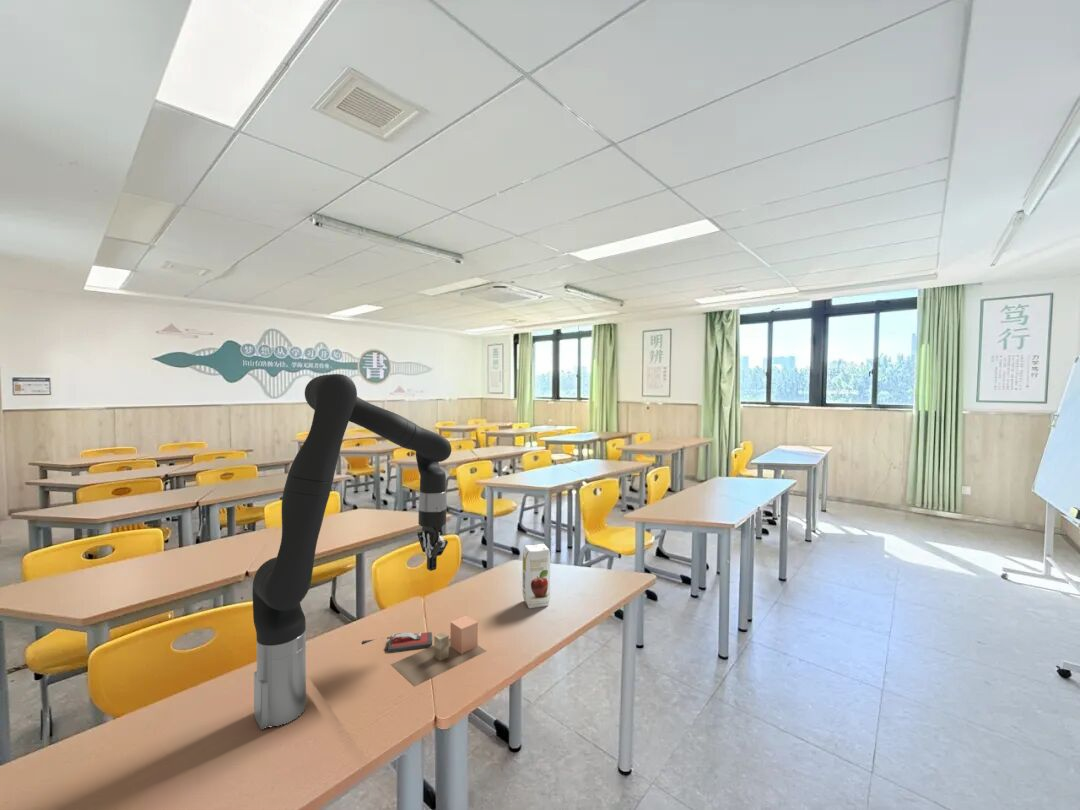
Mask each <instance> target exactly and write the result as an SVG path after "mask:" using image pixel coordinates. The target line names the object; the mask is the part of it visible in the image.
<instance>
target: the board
mask: <svg viewBox="0 0 1080 810" xmlns="http://www.w3.org/2000/svg"><path fill="white" fill-rule="evenodd" d="M433 640H434V644H433V645H432V646H431V647H428V648H427V647H426V648H424V649H423V650H421V651H418V652H416V653H414V654H411V655H409V656H406V657H403V658H402V659H400V660H398V661H395V662H392V663H390V665H391V666H392V667H393V669H395V670H396V671H397V672H398V673H399V675H402V677H403V678H405V679H406V680H407V681H408V682H409V683H410V684H411V685H412V686H413V687H417V686H419V685H421V684H423V683H425V682H427V681H429V680H431V679H433V678H435V677H437V676H439V675H441V674H443V673H445V672H447V671H449V670H451V669H453V668H455V667H457V666H459V665H462V664H463V663H466V662H467V661H469V660H471V659H474V658H475V657H477V656H479V655H481V654H483V653H485V652H487V650H486V649H484V648H483V647H481V646H479V645H478V646H477V647H475V648H473V649H471V650H469V651H467V652H465V653H463V654H461V653H459V652H458V651H456V650H455V649H454V648H452V647H451V646H450V637H449V635H448V634H447V633H445V632H443V631H442V632H440V633H438V634H434V639H433Z"/></svg>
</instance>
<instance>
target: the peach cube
mask: <svg viewBox="0 0 1080 810" xmlns="http://www.w3.org/2000/svg"><path fill="white" fill-rule="evenodd" d="M478 625H479V623H478V621H477V620H475V619H474V618H471V617H470V616H468V615H464V616H462V617H459V618H457V619H454V620H452V621H450V637H449V639H450V646H451V647H452V648H454V649H455V650H456V651H458V652H459V653H461V654H463V653H465V652H467V651H469V650H471V649H473V648H475V647H477V646H479V644H478V643H479V640H478V635H479V633H478V631H479V630H478V629H479V628H478Z"/></svg>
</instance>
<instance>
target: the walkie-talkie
mask: <svg viewBox="0 0 1080 810" xmlns="http://www.w3.org/2000/svg"><path fill="white" fill-rule="evenodd" d="M381 639H384V638H383V637H382V638H381ZM386 639H387V641H386V642H387V645H385V651H386V652H388V653H396V652H404V651H410V650H418V649H427V648H429V647H432V646H433V632H432V631H429V632H428V631H427V632H421V631H420V632H418V633H412V632H411V631H410V632H401V633H400V632H399V633H392V634H391V636H388V637H386ZM388 639H389V640H388ZM375 640H376V639H367V640H362V641H361V645H365V644H367V643H370V642H373V641H375Z"/></svg>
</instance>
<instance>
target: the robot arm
mask: <svg viewBox="0 0 1080 810" xmlns="http://www.w3.org/2000/svg"><path fill="white" fill-rule="evenodd" d="M357 390H358V389H357V387H356V385H355V383H354V381H353V379H351V378H350V377H349V376H348V375H345V374H341V373H333V374H332V373H331V374H323V375H322V374H321V375H319V376H316V377H314V378H312V379H311V380H310V381H309V382H307V384H306V385H305V388H304V398H305V401H306V403H307V405H309V407H310V408H311V409H312V410H314V411H313V412H314V413H313V417H312V422H311V426H310V429H309V432H308V435H307V436H306V438H305V439H304V442H303V444H302V445H301V447H300V448H299V450H298V452H297V453H296V455H295V457H294V459H293V461H292V463H291V465H290V468H289V471H288V474H287V477H286V479H285V484H284V489H283V492H282V497H281V538H280V545H279V549H278V553H277V556H276V557H273V558H270V559H268V560H266V561H265V562H263V563H262V564H261V566H259V568H258V569H257V571H256V572H255V574H254V577H253V581H252V588H251V589H252V592H251V593H252V595H251V596H252V615H253V617H252V618H253V625H254V630H255V633H256V671H254V673H253V716H254V718H255V721H256V722H257V725H258V727H259V729H260V731H263V730H265V729H264V728H265V727H269V726H277V727H279V726H278V725H281V726H283V725H282V724H284V725H287V724H288V722H289V723H291V722H293V721H295V720H296V719H297V718H299V717H300V716H301V715H302V714H303V713H304V711H305V710H306V707H305V706H306V705H307V704H306V702H307V701H306V700H307V695H306V694H307V693H306V692H307V691H306V688H307V687H306V685H307V682H306V681H307V678H306V677H307V676H306V675H307V670H306V669H307V668H306V667H307V666H306V665H307V662H306V661H307V660H306V658H307V653H306V651H307V649H306V648H307V645H306V643H307V639H306V638H307V637H306V636H307V632H306V630H307V629H306V624H307V623H306V616H305V614H304V612H303V611H304V610H303V608H302V606H301V605H302V604H301V602H302V601H303V600H304V599H305V597H306V595H308V592H309V590H310V588H311V582H312V580H313V579H312V578H313V572H314V563H315V556H316V550H317V544H318V539H319V535H320V532H321V528H322V524H323V521H324V515H325V512H326V508H327V506H328V501H329V498H330V495H331V490H332V487H333V482H334V479H335V474H336V469H337V465H338V461H339V457H340V452H341V449H342V443H343V440H344V436H345V433H346V430H347V427H348V425H349V422H350V423H351V424H352V423H353V424H355V425H357V426H360V427H362V428H364V429H365V430H368V431H369V432H372V433H374V434H375V435H378V436H379V437H380V438H383V439H384V440H387V441H389V442H391V443H393V444H395V445H397V446H399V447H401V448H404V449H406V450H411V451H414V452H415V458H416V459H415V460H416V463H417V468H418V473H419V477H420V478H419V496H418V518H417V519H418V525H419V526H420V527H422V528H421V531H418V532H417V533H416V535H417V538H418V541H419V544H420V548H421V551H422V552H423V553H424V554H425V556H426V570H428V571H430V572H432V571H436V569H437V565H438V564H437V562H438V561H437V560H438V558H437V557H438V556H442V555H443V553H444V552H445V549H446V547H447V546H448V544H449V540H448V539H444V538H443V536H444V532H443V531H444V530H443V526H444V525H446V523H447V493H446V492H447V491H446V490H447V489H446V488H447V486H446V483H447V482H446V481H447V476H446V472H445V471H444V470H443V469H441V467H440V464H439V462H440V463H441V462H444V461H446V460H448V459H449V458H450V456H451V454H452V445H451V443H450V441H449V439H447V438H446V437H445V436H443V435H441V434H439V433H437V432H433V431H432V430H429V429H427V428H424V427H421V426H420V425H418V424H416V423H415V422H413V421H411V420H409V419H407V418H406V417H404V416H402V415H399V414H398V413H395V412H393V411H392V410H391V411H390V410H388V409H385V408H383V407H380V406H377V405H375V404H373V403H370V402H368V401H366V400H364V399H362V398H360V397H358V391H357ZM304 709H305V710H304ZM302 712H303V713H302ZM301 713H302V714H301ZM298 716H299V717H298ZM294 719H295V720H294ZM292 720H293V721H292ZM290 721H291V722H290ZM286 723H287V724H286ZM262 729H263V730H262Z"/></svg>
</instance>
